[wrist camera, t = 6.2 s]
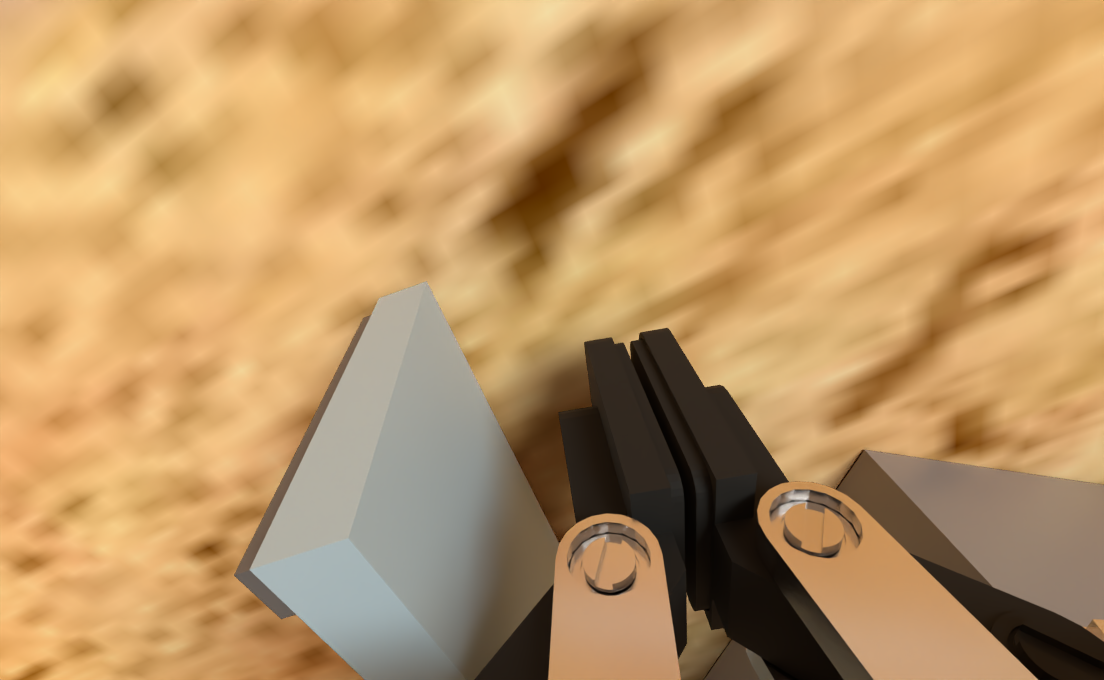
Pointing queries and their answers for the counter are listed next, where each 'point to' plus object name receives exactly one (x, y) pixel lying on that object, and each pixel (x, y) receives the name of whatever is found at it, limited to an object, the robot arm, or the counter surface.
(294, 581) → the side door
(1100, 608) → the block
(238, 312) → the counter surface
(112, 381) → the counter surface
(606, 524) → the robot arm
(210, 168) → the counter surface
